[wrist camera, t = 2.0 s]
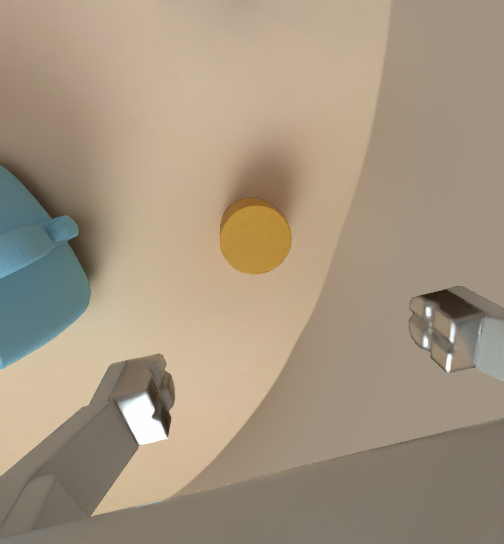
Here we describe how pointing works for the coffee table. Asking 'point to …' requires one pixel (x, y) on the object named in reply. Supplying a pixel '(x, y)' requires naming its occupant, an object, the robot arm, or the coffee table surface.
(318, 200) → the coffee table surface
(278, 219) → the cylinder
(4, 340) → the teapot
